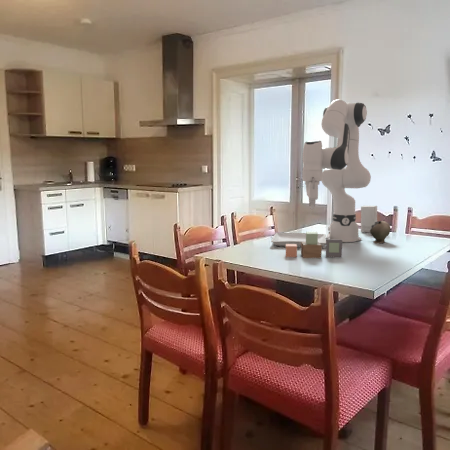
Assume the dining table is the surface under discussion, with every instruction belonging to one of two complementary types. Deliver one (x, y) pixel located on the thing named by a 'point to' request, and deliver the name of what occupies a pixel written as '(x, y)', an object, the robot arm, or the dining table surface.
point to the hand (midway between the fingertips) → (311, 207)
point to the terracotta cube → (291, 250)
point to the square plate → (294, 239)
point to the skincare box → (368, 217)
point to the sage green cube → (312, 238)
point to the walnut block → (311, 250)
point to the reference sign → (333, 248)
